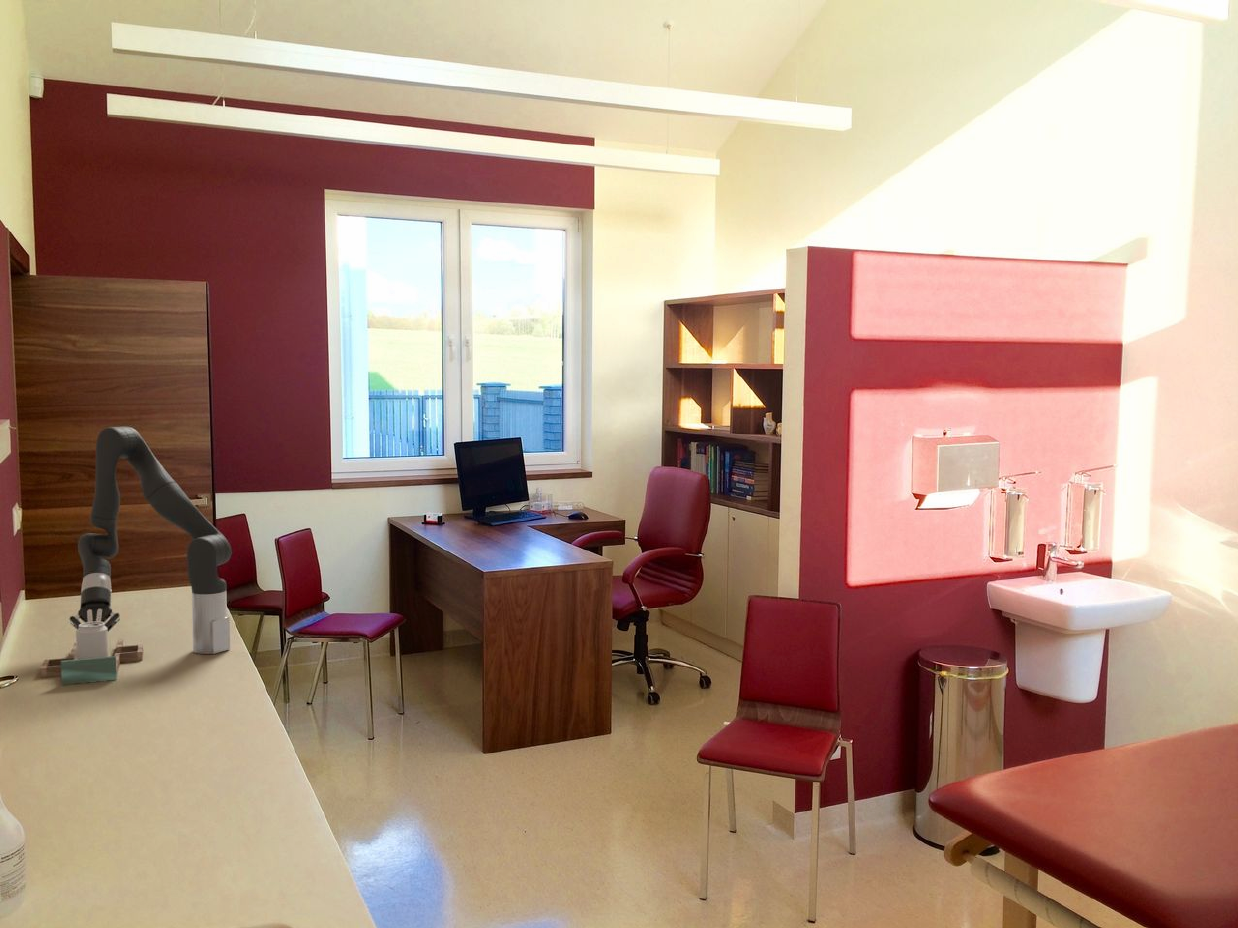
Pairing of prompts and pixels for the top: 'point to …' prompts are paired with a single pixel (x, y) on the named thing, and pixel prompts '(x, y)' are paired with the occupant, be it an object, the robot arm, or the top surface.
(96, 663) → the trap channel
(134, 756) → the top surface
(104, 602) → the robot arm
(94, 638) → the can
